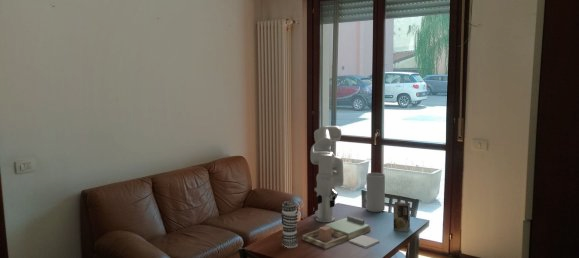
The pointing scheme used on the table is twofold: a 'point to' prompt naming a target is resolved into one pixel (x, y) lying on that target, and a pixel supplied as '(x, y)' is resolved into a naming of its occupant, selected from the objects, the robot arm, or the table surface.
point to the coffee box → (401, 216)
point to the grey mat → (364, 241)
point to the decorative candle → (289, 224)
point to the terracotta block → (325, 233)
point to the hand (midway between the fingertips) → (325, 205)
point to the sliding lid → (348, 225)
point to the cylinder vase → (375, 192)
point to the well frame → (341, 235)
